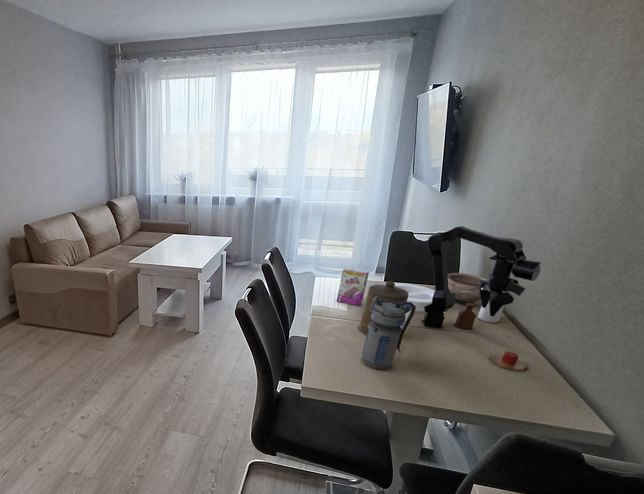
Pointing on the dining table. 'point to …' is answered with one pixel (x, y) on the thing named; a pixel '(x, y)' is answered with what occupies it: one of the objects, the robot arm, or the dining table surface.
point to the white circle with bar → (417, 295)
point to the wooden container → (384, 294)
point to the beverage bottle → (385, 332)
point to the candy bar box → (352, 286)
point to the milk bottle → (485, 314)
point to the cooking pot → (464, 287)
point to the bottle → (466, 317)
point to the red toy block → (510, 358)
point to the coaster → (516, 367)
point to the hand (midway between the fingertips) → (487, 311)
